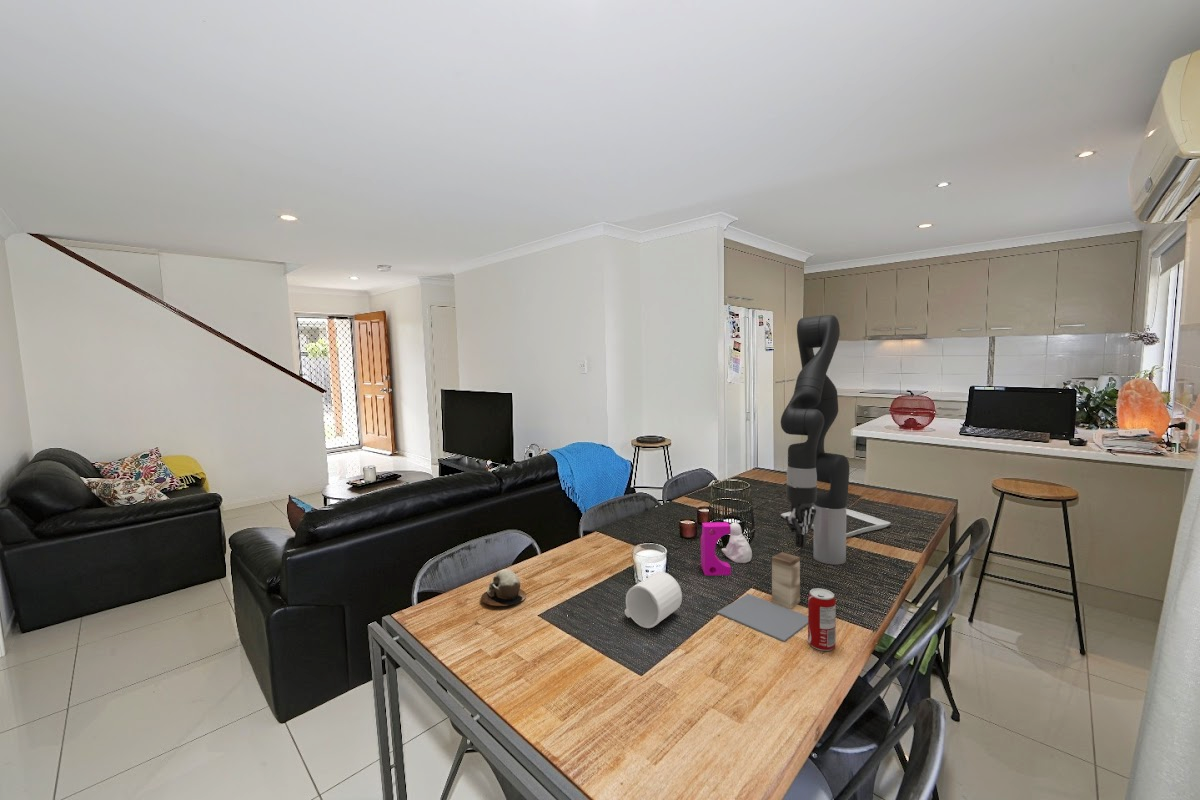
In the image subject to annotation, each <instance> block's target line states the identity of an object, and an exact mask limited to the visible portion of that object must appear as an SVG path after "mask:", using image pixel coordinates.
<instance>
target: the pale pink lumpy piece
mask: <svg viewBox="0 0 1200 800" xmlns="http://www.w3.org/2000/svg"><path fill="white" fill-rule="evenodd" d="M729 525H730V530H731V533H729V540H728V543H727V545H726V547H723V548H721V551H722V553H723V554H724V555H725V556H726V558H728V559H729V560H730V561H733V562H734V563H739V564H747V563H750V562H751V560H752V558H753V552H752V548H751V546H750V544H749V542H748V541H747V540H746V539H747V538H746V537H745V536H744V534H743V533H742V532H743V530H742V527H741V525H740V524H739V523H738V522H732V523H729Z"/></svg>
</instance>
